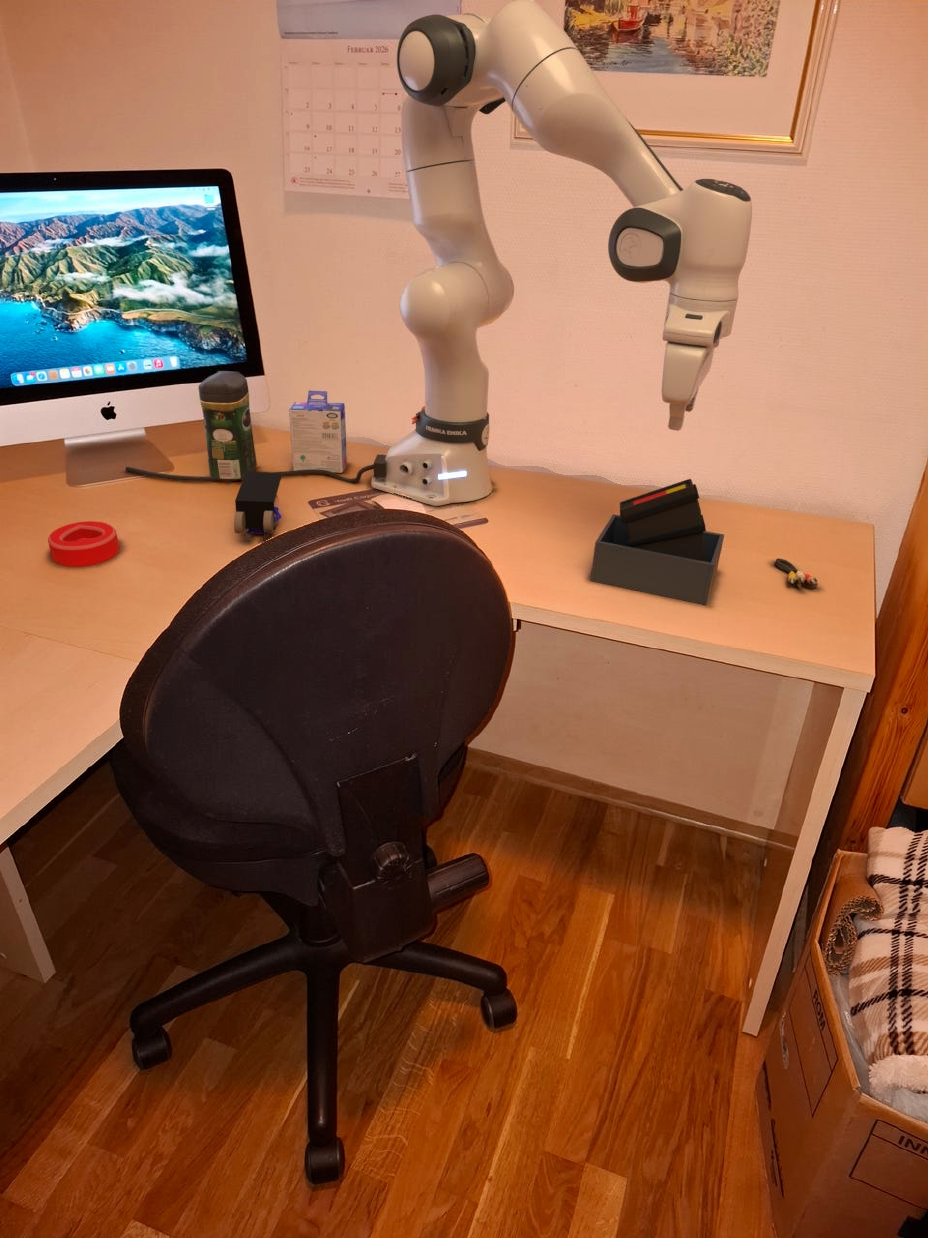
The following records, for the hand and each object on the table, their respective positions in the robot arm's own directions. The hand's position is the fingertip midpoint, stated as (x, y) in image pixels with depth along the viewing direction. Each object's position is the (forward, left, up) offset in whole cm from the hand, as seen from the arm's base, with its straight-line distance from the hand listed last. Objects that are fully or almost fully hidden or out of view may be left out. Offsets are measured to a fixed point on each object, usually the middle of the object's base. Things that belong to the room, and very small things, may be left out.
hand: (680, 419), depth 120 cm
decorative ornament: (-82, -33, -24) cm, 91 cm away
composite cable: (+21, +6, -24) cm, 32 cm away
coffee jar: (-81, +4, -24) cm, 84 cm away
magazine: (0, -3, -23) cm, 24 cm away
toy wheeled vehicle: (-63, -14, -24) cm, 68 cm away
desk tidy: (0, -3, -24) cm, 24 cm away
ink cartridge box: (-68, +14, -24) cm, 73 cm away
